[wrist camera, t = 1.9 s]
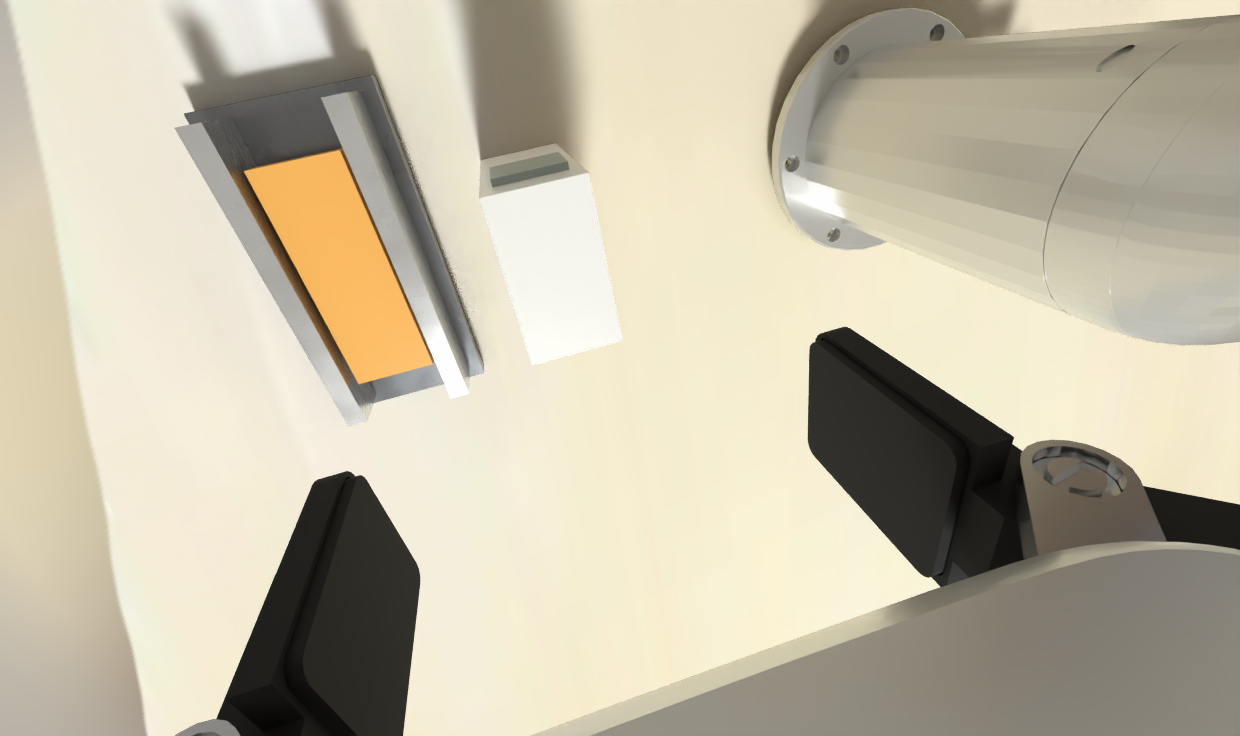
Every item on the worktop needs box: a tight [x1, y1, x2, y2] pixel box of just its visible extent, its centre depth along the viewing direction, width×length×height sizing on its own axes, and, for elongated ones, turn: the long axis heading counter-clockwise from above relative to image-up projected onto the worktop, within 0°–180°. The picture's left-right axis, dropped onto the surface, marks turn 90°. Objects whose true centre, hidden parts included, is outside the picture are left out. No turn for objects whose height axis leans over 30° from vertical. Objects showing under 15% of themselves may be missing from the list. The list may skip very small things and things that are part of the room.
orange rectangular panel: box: [244, 148, 434, 384], centre depth 25 cm, size 4×11×1 cm, turn 10°
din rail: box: [175, 75, 484, 426], centre depth 26 cm, size 8×16×4 cm, turn 10°
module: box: [479, 143, 623, 365], centre depth 24 cm, size 4×7×10 cm, turn 10°
